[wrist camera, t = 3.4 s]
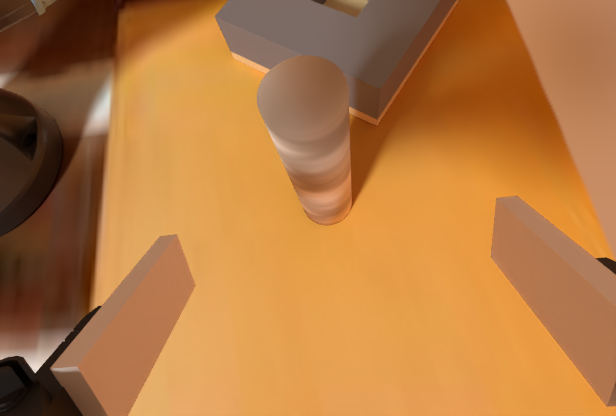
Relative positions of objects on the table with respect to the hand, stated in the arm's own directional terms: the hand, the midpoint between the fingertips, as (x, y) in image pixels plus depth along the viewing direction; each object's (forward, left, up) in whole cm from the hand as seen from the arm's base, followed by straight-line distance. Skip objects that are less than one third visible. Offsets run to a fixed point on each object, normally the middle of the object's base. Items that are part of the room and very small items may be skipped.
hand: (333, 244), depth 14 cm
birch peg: (-4, +5, -12) cm, 14 cm away
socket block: (-12, +21, -12) cm, 27 cm away
